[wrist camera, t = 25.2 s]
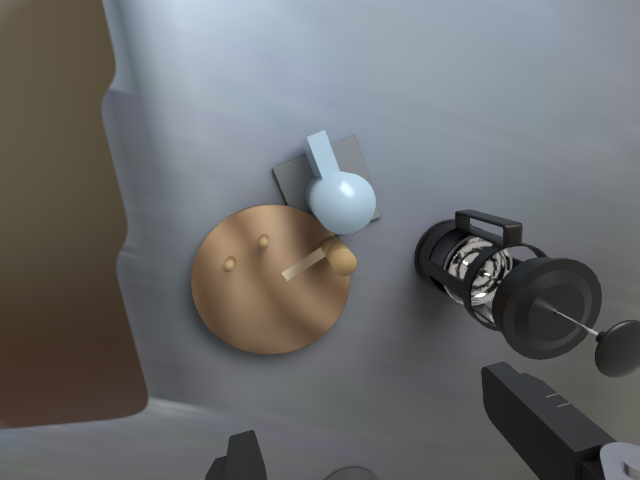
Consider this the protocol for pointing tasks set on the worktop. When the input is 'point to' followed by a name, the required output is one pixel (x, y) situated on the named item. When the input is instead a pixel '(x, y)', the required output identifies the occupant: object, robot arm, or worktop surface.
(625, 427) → the worktop surface
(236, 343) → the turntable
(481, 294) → the french press
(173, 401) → the worktop surface
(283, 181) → the slate mat
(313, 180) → the pale blue carafe
